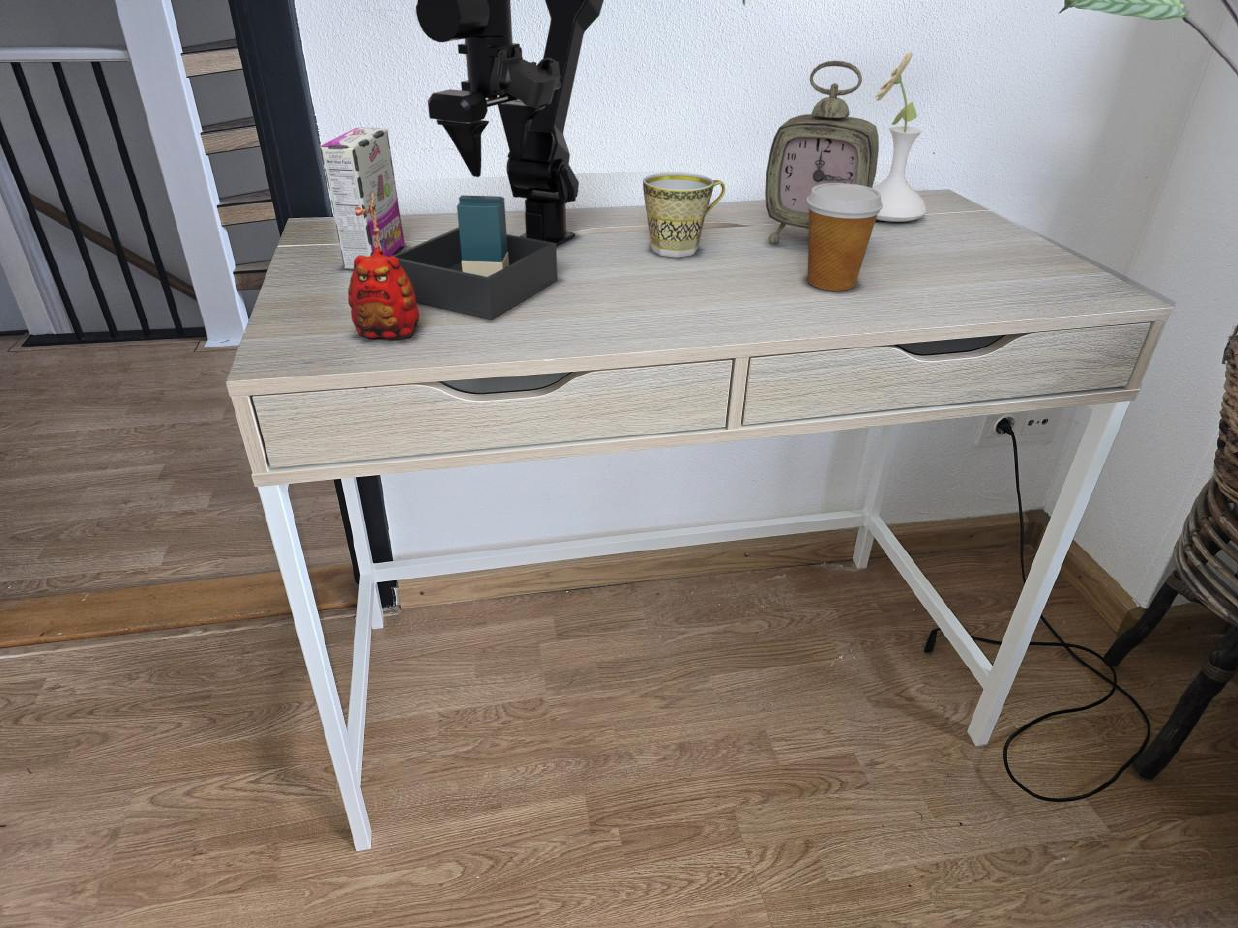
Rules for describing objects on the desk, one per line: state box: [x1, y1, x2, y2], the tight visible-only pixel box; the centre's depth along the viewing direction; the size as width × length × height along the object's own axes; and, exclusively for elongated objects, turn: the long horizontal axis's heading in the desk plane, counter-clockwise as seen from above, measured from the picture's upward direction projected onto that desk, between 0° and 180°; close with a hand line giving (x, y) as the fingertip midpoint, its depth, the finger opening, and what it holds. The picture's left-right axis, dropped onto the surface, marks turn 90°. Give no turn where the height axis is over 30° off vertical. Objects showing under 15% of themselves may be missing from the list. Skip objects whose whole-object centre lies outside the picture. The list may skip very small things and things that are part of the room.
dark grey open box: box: [391, 226, 558, 321], centre depth 104 cm, size 15×15×5 cm
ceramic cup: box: [642, 171, 726, 259], centre depth 117 cm, size 13×10×10 cm
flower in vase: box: [872, 51, 928, 223], centre depth 128 cm, size 13×11×25 cm
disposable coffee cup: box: [806, 183, 883, 292], centre depth 106 cm, size 10×10×12 cm
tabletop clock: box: [764, 60, 880, 245], centre depth 116 cm, size 14×9×25 cm, turn 68°
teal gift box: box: [456, 194, 509, 277], centre depth 101 cm, size 4×5×12 cm
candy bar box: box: [319, 126, 406, 271], centre depth 111 cm, size 11×5×16 cm, turn 171°
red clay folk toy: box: [347, 193, 420, 341], centre depth 90 cm, size 8×7×15 cm
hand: (497, 169), depth 106 cm, fingers open, 9 cm apart
